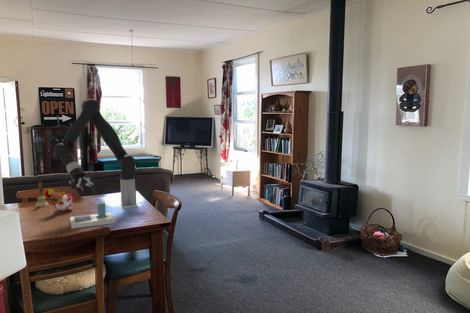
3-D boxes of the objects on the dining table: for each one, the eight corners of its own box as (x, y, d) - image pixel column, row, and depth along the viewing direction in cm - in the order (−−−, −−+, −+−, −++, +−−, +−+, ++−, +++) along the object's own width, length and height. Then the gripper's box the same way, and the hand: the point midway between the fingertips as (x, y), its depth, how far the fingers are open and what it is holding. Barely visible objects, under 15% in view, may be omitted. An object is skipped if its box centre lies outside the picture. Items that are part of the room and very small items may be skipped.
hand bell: (34, 207, 234) (32, 183, 232) (35, 204, 241) (34, 181, 240) (48, 206, 237) (47, 182, 235) (49, 203, 245) (48, 180, 243)
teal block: (105, 219, 205) (104, 202, 204) (106, 221, 202) (105, 204, 201) (97, 220, 204) (97, 203, 202) (98, 222, 200) (97, 204, 199)
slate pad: (89, 215, 204) (89, 215, 204) (91, 220, 195) (91, 219, 195) (74, 217, 201) (74, 216, 201) (75, 222, 192) (75, 221, 192)
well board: (111, 217, 212) (111, 212, 211) (115, 223, 199) (115, 218, 199) (70, 222, 202) (70, 217, 201) (71, 229, 189) (71, 223, 189)
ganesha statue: (76, 213, 226) (54, 198, 210) (57, 216, 229) (35, 201, 213) (81, 195, 234) (61, 179, 218) (63, 198, 237) (42, 182, 221)
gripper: (66, 168, 204) (79, 190, 199) (88, 165, 216) (101, 186, 211) (61, 176, 208) (74, 198, 203) (83, 173, 220) (96, 194, 215)
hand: (88, 192), depth 207 cm, fingers open, 8 cm apart
